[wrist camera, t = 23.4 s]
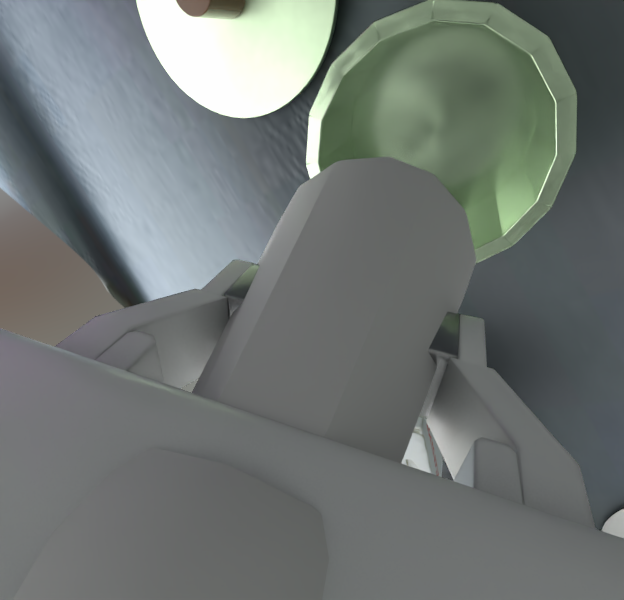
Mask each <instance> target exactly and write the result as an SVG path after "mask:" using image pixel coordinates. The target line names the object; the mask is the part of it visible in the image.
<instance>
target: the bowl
mask: <svg viewBox="0 0 624 600" xmlns="http://www.w3.org/2000/svg"><path fill="white" fill-rule="evenodd" d="M576 92H577V91H576V89H575V87H574V85H573V83H572V81H571V79H570V77H569V75H568V73H567V71H566V69H565V67H564V65H563V63H562V61H561V59H560V57H559V55H558V53H557V51H556V49H555V47H554V45H553V43H552V41H551V39H550V38H549V36H547V35H546V34H544V33H543V32H541V31H540V30H538V29H537V28H535V27H534V26H532V25H531V24H529V23H528V22H526V21H525V20H523V19H522V18H520V17H519V16H517V15H516V14H514V13H513V12H511V11H509V10H508V9H506V8H505V7H503V6H502V5H500V4H499V3H495V2H486V1H472V0H426V1H423V2H421V3H418V4H416V5H413V6H411V7H408V8H406V9H403V10H401V11H398V12H396V13H393V14H391V15H388V16H386V17H383V18H381V19H378V20H376V21H374V22H373V23H372V24H371V25H370V26H369V27H368V28H367V29H366V30H365V31H364V32H363V33H362V34H361V35H360V36H359V37H358V38H357V39H356V40H355V41H354V42H353V43H352V44H351V45H350V46H349V47H348V48H347V49H346V50H345V51H344V52H343V53H342V54H341V55H340V56H339V57H338V58H337V59H336V60H335V61H334V62H333V63H332V65H330V68H329V70H328V72H327V74H326V77H325V79H324V81H323V83H322V86H321V88H320V90H319V92H318V94H317V97H316V99H315V101H314V103H313V106H312V108H311V110H310V112H309V114H310V115H309V120H308V136H307V151H306V163H307V164H306V166H307V170H308V173H309V176H310V179H311V178H313V177H314V176H316V175H317V174H319V173H320V172H322V171H323V170H324V169H326V168H327V167H329V166H330V165H332V164H333V163H335V162H338V161H341V160H351V159H364V158H377V157H391V158H394V159H396V160H399V161H402V162H404V163H407V164H409V165H412V166H414V167H417V168H420V169H422V170H425V171H427V172H430V173H432V174H434V175H435V176H436V177H437V178H438V180H439V181H440V182H441V183H442V184H443V185H444V187H445V188H446V189H447V190H448V191H449V192H450V193H451V195H452V196H453V197H454V198H455V199H456V200H457V202H458V203H459V204H460V205H461V206H462V207H463V209H464V210H465V212H466V215H467V218H468V223H469V228H470V232H471V237H472V242H473V247H474V251H475V256H476V263H478V262H480V261H482V260H484V259H487V258H489V257H491V256H493V255H495V254H497V253H499V252H501V251H503V250H505V249H508V248H510V247H512V245H514V244H515V243H516V242H517V241H518V240H519V239H520V238H521V237H523V236H524V235H525V234H526V233H527V232H528V231H529V230H530V229H531V228H532V227H533V226H534V225H535V224H536V223H537V222H538V221H539V220H540V219H541V218H542V217H543V216H544V215H545V214H546V213H547V212H548V211H549V210H550V209H551V207H552V206H553V204H554V202H555V199H556V197H557V195H558V193H559V191H560V188H561V186H562V184H563V182H564V180H565V177H566V175H567V173H568V171H569V169H570V166H571V164H572V162H573V160H574V158H575V153H576V152H577V93H576ZM476 263H475V264H476Z"/></svg>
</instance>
